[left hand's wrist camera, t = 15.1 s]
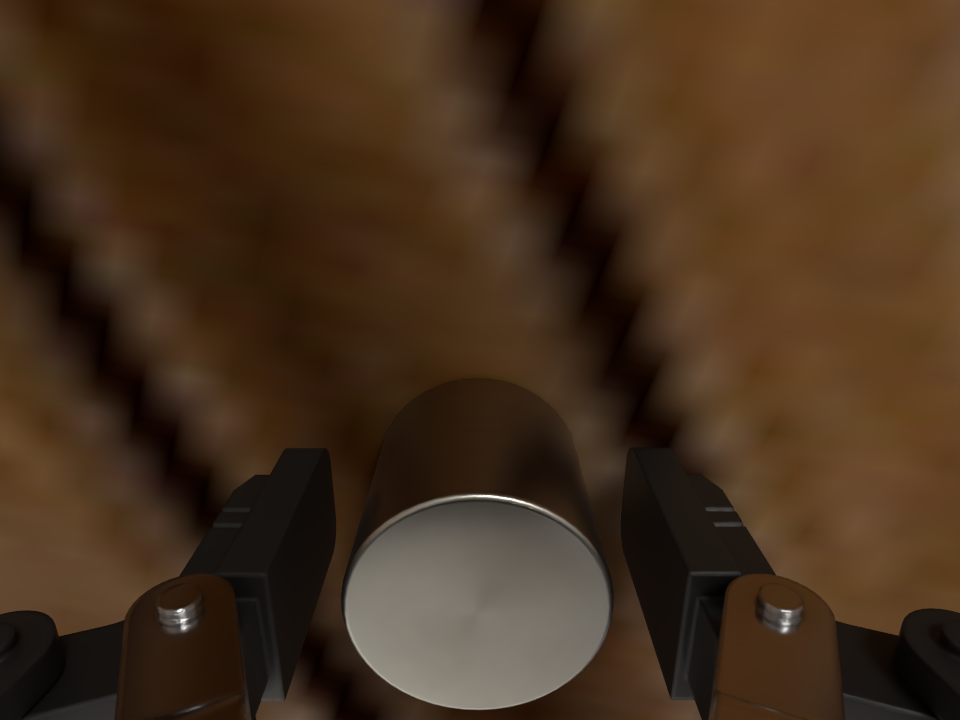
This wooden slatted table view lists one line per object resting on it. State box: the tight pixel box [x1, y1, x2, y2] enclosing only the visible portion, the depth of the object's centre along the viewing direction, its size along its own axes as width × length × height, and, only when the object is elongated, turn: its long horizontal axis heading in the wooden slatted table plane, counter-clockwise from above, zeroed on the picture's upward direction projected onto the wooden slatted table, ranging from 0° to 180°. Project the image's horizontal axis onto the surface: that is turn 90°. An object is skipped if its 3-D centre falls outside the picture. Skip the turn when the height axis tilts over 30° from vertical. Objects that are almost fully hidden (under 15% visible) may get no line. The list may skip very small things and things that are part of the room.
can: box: [341, 379, 613, 710], centre depth 11 cm, size 4×4×4 cm
